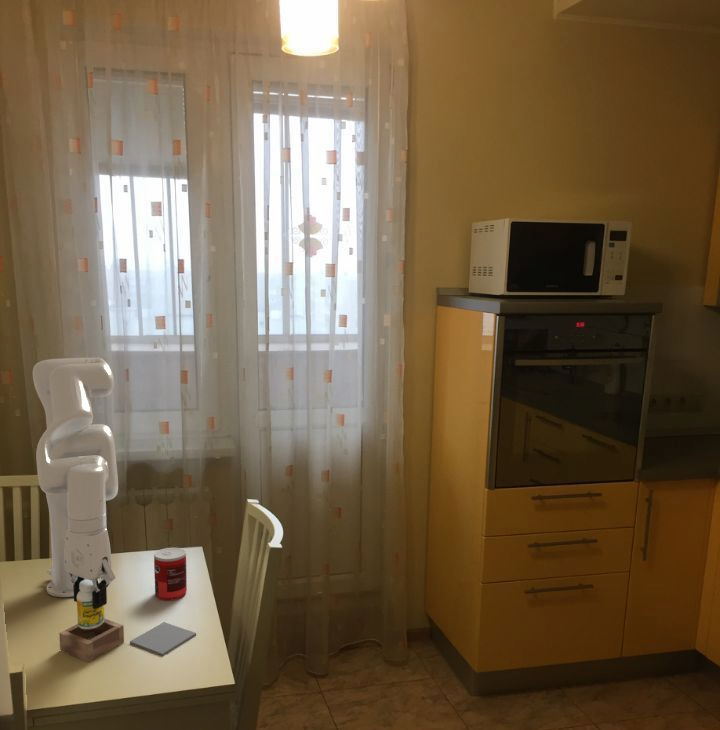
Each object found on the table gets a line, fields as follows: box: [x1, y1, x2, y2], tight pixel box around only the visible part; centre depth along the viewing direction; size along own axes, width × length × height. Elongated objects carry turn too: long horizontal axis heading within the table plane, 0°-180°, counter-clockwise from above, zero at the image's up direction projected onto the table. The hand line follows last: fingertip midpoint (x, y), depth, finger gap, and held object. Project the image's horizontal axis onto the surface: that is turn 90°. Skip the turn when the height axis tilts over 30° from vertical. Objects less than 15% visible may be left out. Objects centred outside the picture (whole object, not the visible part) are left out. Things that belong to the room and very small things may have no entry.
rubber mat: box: [129, 621, 197, 657], centre depth 147 cm, size 10×10×1 cm
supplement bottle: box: [76, 579, 105, 629], centre depth 143 cm, size 5×5×10 cm
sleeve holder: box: [58, 617, 125, 663], centre depth 143 cm, size 9×9×4 cm
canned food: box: [153, 547, 188, 602], centre depth 168 cm, size 8×8×11 cm
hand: (90, 602), depth 143 cm, fingers closed on supplement bottle, 5 cm apart
